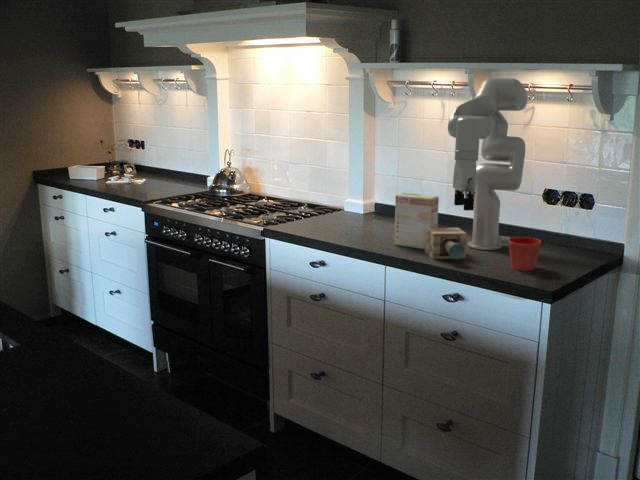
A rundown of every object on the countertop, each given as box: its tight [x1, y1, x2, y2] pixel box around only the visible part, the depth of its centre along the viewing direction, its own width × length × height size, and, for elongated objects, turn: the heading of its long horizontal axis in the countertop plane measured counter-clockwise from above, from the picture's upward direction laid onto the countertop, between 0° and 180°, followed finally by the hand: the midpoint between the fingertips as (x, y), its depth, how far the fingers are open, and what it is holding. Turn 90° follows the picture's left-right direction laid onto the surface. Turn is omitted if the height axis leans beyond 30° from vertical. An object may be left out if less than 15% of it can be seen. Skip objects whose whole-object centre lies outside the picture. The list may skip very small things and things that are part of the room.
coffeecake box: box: [393, 192, 440, 250], centre depth 269 cm, size 15×7×20 cm, turn 56°
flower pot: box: [507, 236, 542, 272], centre depth 240 cm, size 11×11×10 cm
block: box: [424, 226, 468, 260], centre depth 256 cm, size 10×12×9 cm
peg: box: [443, 239, 465, 260], centre depth 249 cm, size 11×6×6 cm, turn 8°
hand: (463, 207), depth 235 cm, fingers open, 9 cm apart
